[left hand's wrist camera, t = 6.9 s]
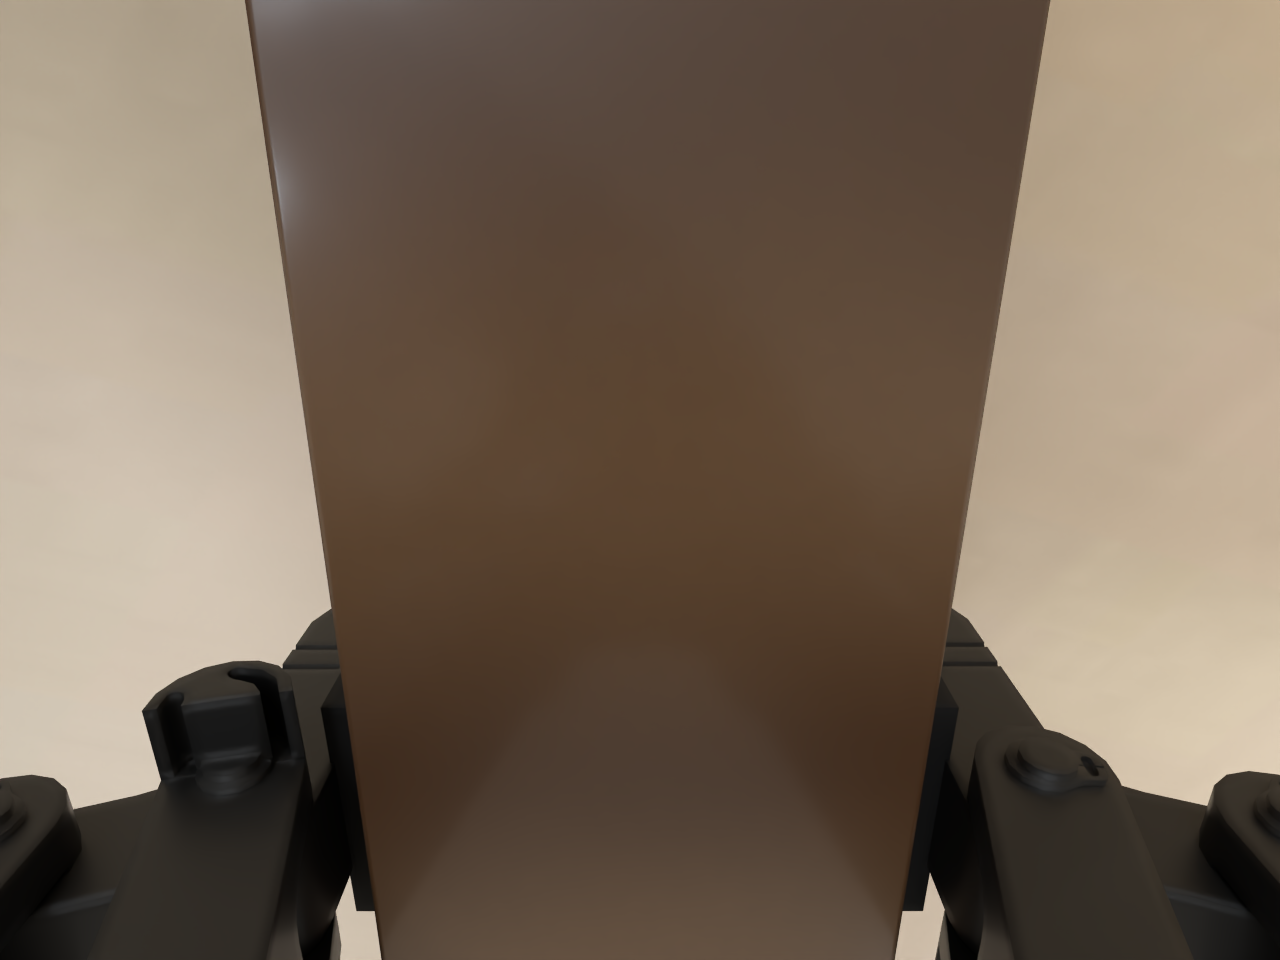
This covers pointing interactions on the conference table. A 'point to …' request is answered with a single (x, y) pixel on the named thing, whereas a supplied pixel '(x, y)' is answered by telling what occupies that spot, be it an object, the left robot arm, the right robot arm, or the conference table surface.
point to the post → (643, 444)
